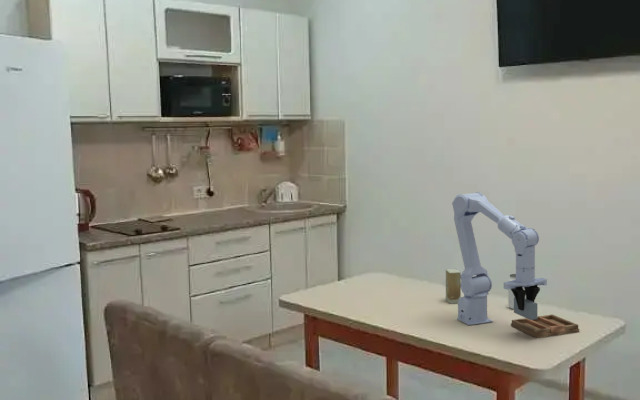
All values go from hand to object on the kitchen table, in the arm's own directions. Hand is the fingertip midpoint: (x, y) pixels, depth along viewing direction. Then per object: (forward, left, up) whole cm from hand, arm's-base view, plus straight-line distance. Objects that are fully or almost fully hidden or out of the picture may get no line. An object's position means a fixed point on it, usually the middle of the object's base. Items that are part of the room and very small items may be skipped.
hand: (525, 309), depth 209 cm
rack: (+9, +3, -8) cm, 13 cm away
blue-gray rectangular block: (0, 0, -2) cm, 2 cm away
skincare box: (-1, +45, -9) cm, 45 cm away
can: (+16, +28, -9) cm, 33 cm away
